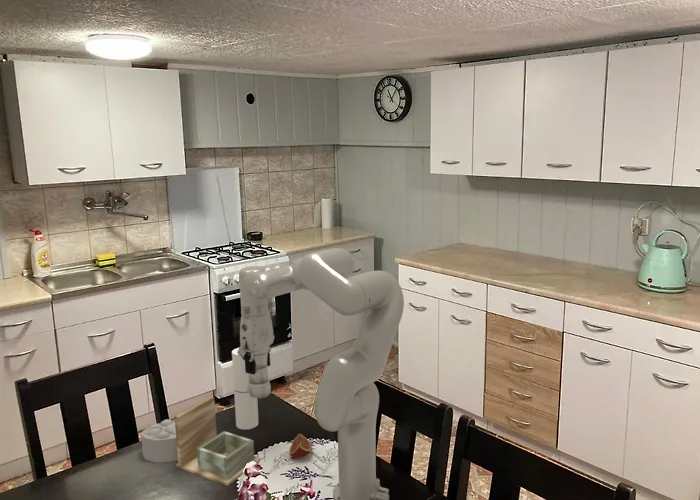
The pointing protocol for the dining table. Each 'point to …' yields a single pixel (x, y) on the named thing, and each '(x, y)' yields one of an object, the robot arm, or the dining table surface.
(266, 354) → the plastic bottle
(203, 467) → the wall caddy
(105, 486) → the dining table surface
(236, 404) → the cylindrical container
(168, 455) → the lumpy-topped squat cylinder
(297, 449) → the fruit slice
